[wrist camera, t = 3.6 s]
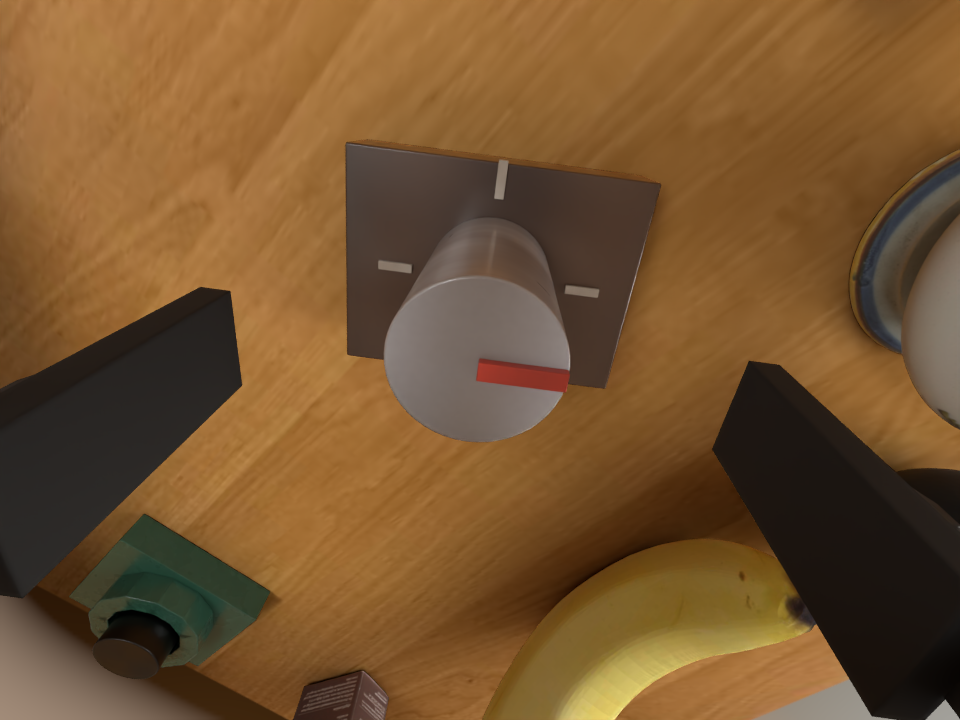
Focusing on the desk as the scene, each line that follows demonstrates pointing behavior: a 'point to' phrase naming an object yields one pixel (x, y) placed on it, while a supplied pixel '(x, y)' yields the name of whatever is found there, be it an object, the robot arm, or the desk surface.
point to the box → (343, 699)
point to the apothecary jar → (916, 282)
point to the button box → (171, 591)
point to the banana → (648, 628)
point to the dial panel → (498, 194)
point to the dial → (480, 336)
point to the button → (135, 644)
